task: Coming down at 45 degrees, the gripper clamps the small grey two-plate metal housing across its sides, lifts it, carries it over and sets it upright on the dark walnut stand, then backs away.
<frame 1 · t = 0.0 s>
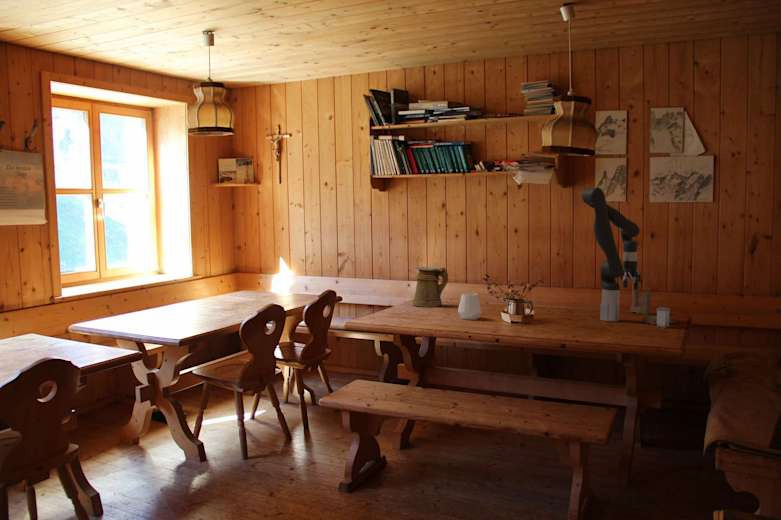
hand: (630, 288, 380), 17 cm above the table, tool pointing down, fingers open, 8 cm apart
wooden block: (640, 313, 401), on the table
stand: (658, 322, 368), on the table
cup: (469, 318, 386), on the table
housing: (662, 327, 355), on the table
tankard: (430, 305, 436), on the table
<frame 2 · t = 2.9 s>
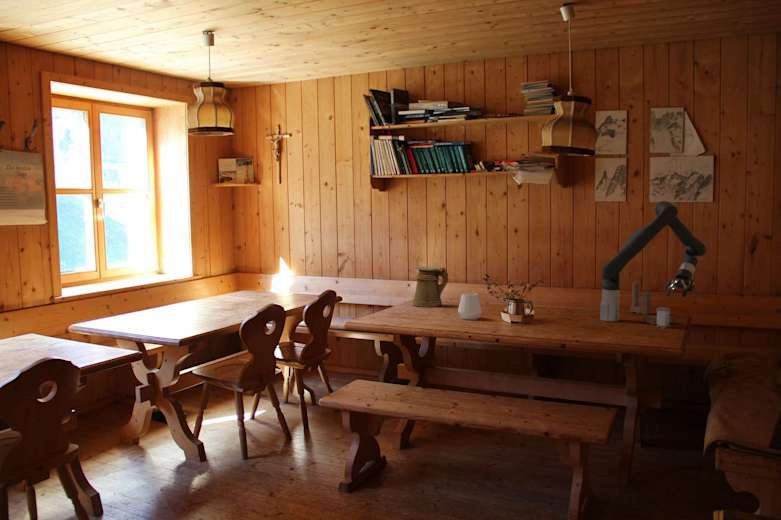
hand: (675, 295, 362), 15 cm above the table, tool tilted 45°, fingers open, 8 cm apart
nothing on the table moved.
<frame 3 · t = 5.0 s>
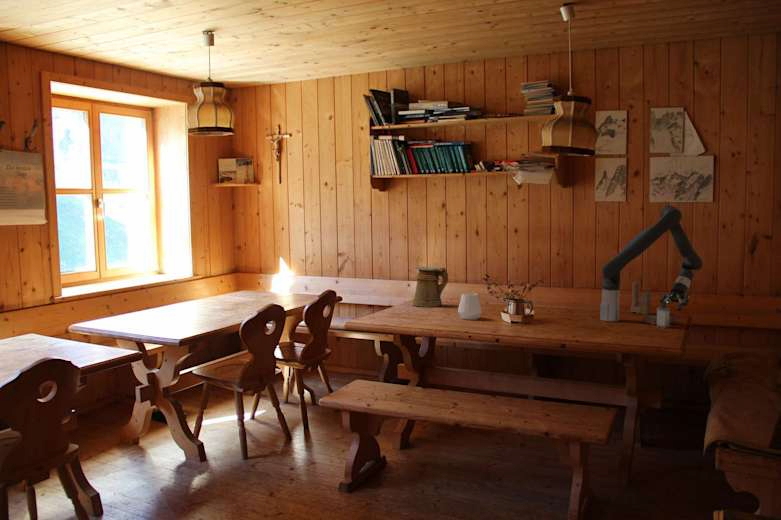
hand: (670, 309, 356), 9 cm above the table, tool tilted 45°, fingers open, 8 cm apart
nothing on the table moved.
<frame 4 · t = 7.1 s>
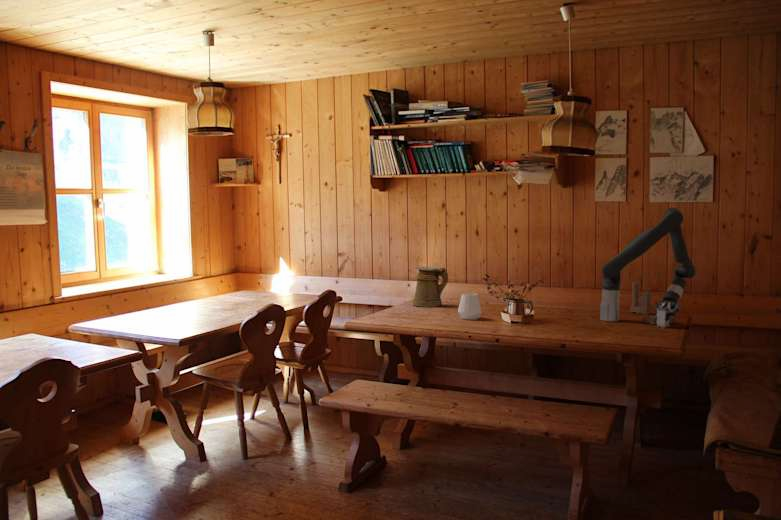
hand: (661, 319, 353), 4 cm above the table, tool tilted 45°, fingers closed on housing, 4 cm apart
housing: (662, 327, 355), on the table, touching gripper
everything else where it was.
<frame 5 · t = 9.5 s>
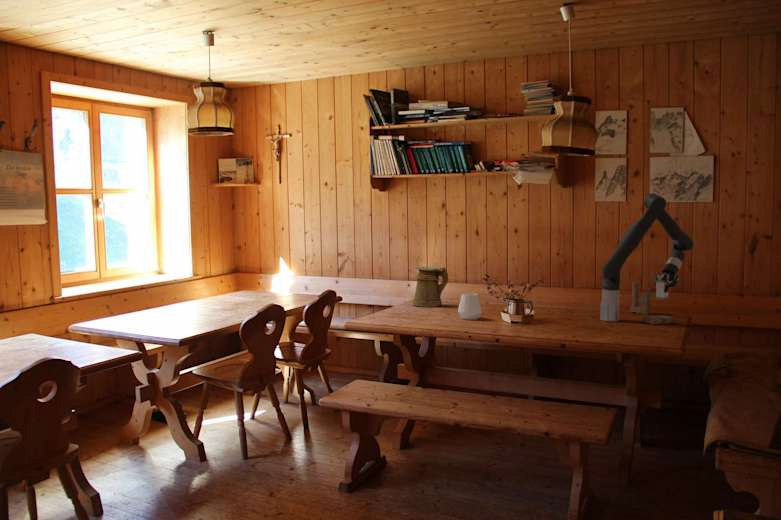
hand: (660, 291, 361), 18 cm above the table, tool tilted 45°, fingers closed on housing, 4 cm apart
housing: (662, 298, 363), point 14 cm above the table, touching gripper
everything else where it was.
when the fingers open (8 cm above the table, at t = 12.1 s): housing stays where it is, resting on stand.
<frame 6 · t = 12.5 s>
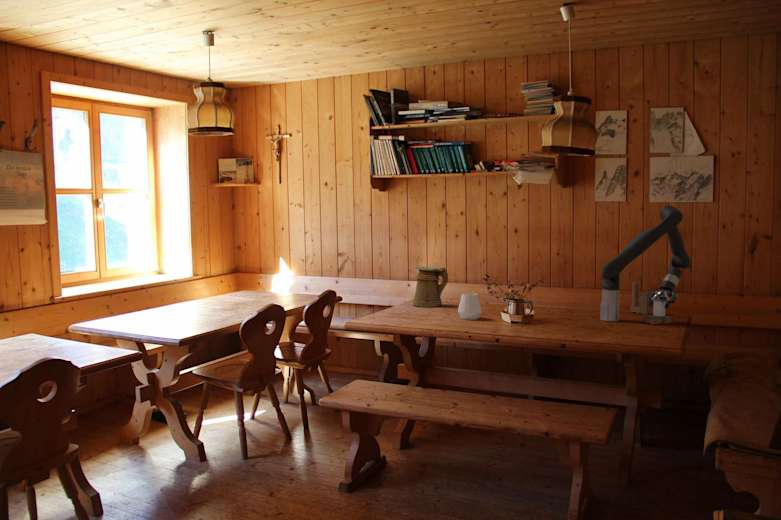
hand: (657, 307, 366), 9 cm above the table, tool tilted 45°, fingers open, 8 cm apart
housing: (659, 317, 367), point 3 cm above the table, touching stand
everything else where it was.
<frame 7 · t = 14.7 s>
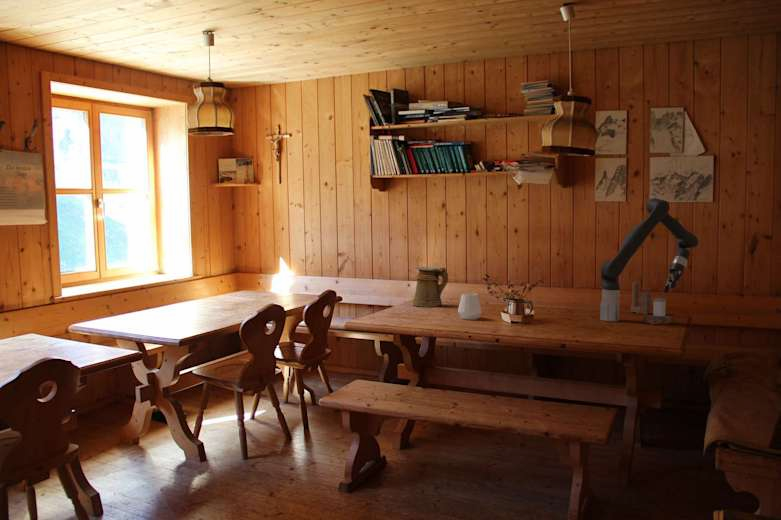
hand: (668, 290, 374), 17 cm above the table, tool tilted 35°, fingers open, 8 cm apart
nothing on the table moved.
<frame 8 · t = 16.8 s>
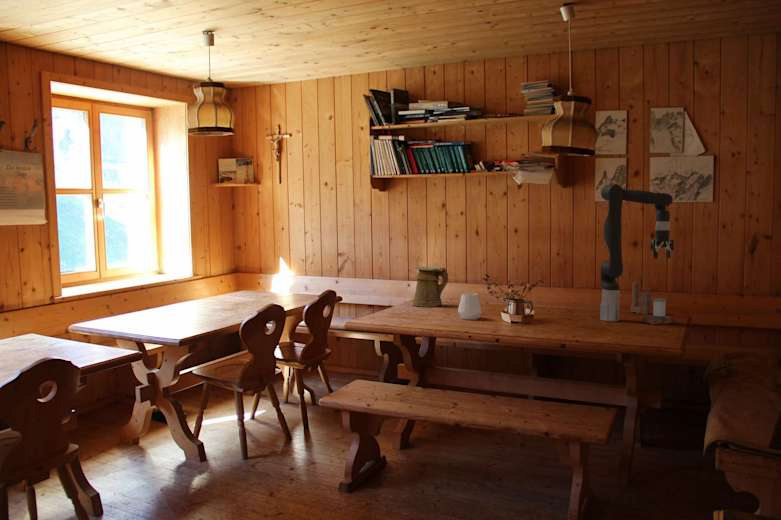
hand: (661, 258, 379), 34 cm above the table, tool pointing down, fingers open, 8 cm apart
nothing on the table moved.
at the end: housing inside the target area on the stand (0.2 cm from its centre), point 3.0 cm above the stand's base; housing tilted 0°; the gripper is holding nothing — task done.
